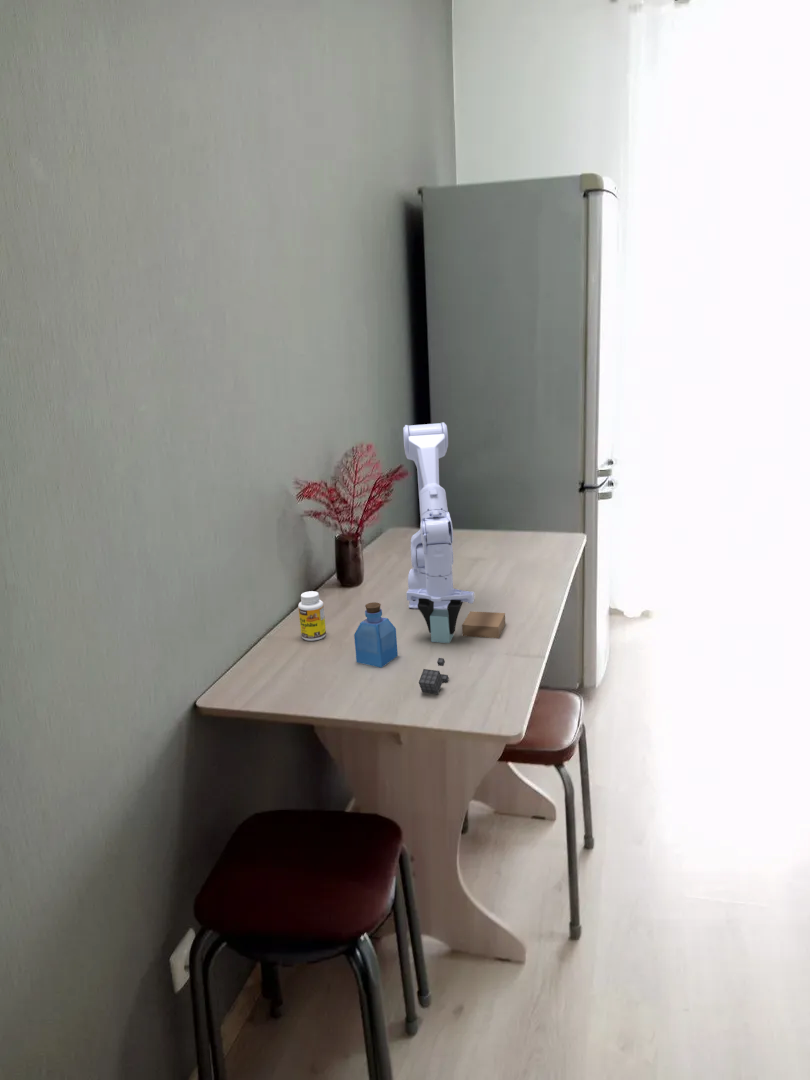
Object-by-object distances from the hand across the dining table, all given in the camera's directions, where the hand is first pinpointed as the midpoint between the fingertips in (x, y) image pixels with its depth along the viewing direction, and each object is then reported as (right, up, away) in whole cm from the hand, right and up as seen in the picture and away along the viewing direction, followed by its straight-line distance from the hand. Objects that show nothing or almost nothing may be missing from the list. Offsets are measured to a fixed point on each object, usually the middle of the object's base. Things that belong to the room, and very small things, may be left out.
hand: (442, 631), depth 177 cm
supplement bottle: (-29, -2, +6) cm, 29 cm away
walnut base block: (+9, 0, +4) cm, 10 cm away
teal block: (0, -2, 0) cm, 2 cm away
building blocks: (-2, -8, -21) cm, 22 cm away
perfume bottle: (-14, -5, -7) cm, 16 cm away
